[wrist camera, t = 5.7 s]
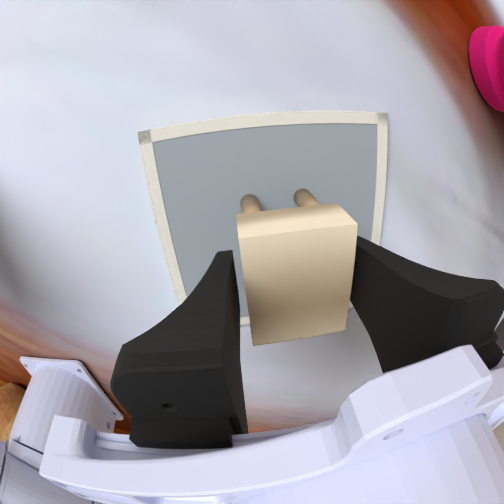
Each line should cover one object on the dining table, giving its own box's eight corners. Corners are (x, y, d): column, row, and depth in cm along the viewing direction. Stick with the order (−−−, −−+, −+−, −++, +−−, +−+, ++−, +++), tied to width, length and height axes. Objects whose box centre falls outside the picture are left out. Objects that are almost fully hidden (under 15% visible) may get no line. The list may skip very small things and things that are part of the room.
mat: (367, 300, 18) (369, 304, 18) (187, 325, 18) (187, 330, 17) (383, 112, 12) (387, 113, 12) (140, 131, 12) (137, 132, 11)
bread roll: (55, 393, 22) (36, 454, 15) (74, 439, 28) (65, 484, 22) (-11, 361, 20) (-35, 413, 13) (20, 417, 26) (7, 457, 19)
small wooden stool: (233, 190, 13) (238, 237, 9) (315, 182, 14) (357, 223, 9) (244, 278, 16) (253, 345, 12) (315, 268, 16) (345, 330, 12)
